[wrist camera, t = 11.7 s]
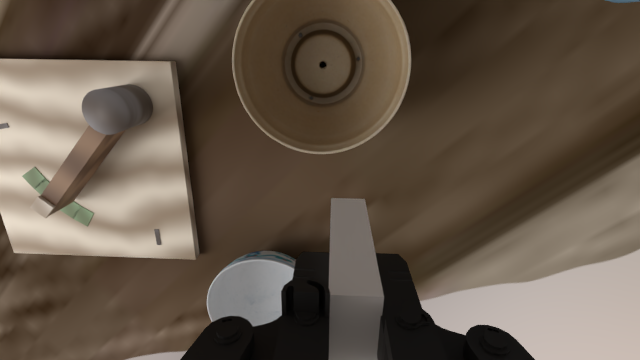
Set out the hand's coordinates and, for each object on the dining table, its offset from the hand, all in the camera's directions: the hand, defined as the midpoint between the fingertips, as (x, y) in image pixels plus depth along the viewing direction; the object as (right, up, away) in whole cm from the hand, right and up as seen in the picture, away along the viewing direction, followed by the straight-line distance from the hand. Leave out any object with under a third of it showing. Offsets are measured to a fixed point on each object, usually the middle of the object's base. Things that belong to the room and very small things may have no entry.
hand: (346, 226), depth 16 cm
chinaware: (-8, -12, +36) cm, 39 cm away
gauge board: (-32, +4, +31) cm, 45 cm away
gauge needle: (-29, +6, +28) cm, 41 cm away
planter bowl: (-1, +16, +26) cm, 30 cm away
